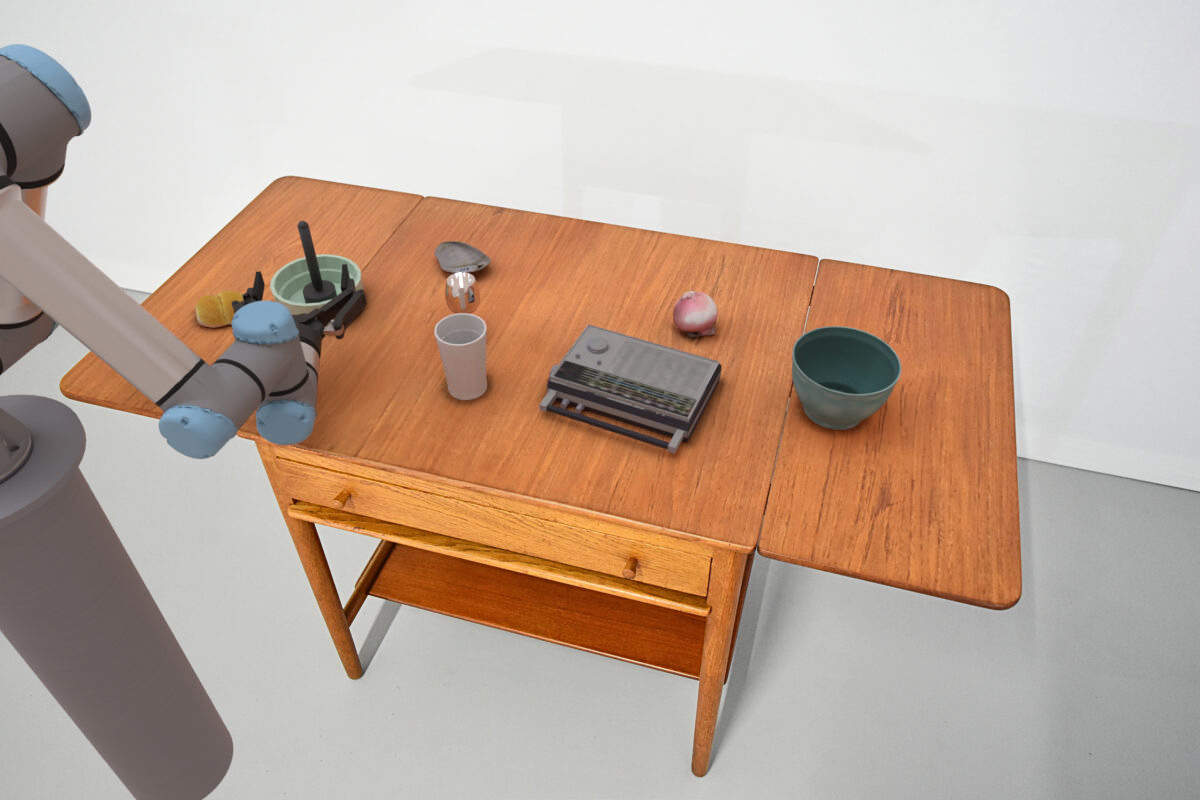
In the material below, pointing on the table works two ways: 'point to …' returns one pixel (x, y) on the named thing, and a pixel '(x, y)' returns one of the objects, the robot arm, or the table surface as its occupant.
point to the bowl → (297, 276)
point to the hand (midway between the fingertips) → (303, 274)
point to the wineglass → (462, 293)
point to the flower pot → (843, 375)
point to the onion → (695, 314)
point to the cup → (463, 354)
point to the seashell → (460, 257)
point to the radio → (632, 386)
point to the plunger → (314, 270)
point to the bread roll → (217, 308)
